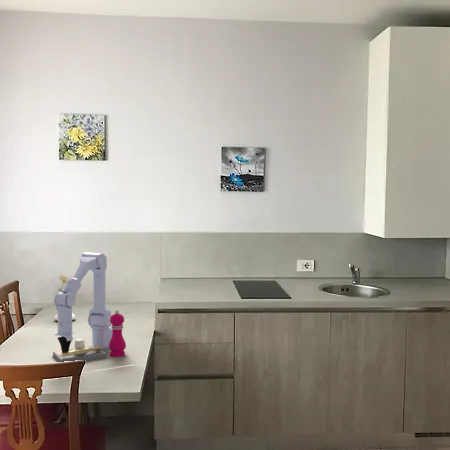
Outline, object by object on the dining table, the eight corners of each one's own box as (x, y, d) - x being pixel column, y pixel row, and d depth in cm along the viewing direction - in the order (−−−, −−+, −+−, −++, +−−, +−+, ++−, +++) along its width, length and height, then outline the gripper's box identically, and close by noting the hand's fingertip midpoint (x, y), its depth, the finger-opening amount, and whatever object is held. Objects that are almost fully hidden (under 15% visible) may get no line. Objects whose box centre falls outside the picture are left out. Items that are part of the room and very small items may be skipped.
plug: (84, 354, 246) (84, 337, 245) (89, 358, 240) (89, 341, 240) (70, 356, 243) (70, 339, 242) (74, 360, 237) (74, 342, 237)
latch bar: (99, 348, 244) (99, 345, 244) (101, 349, 242) (101, 346, 242) (61, 355, 233) (60, 352, 233) (63, 357, 231) (63, 353, 231)
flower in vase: (78, 321, 310) (78, 275, 308) (58, 323, 303) (57, 277, 302) (70, 316, 320) (70, 272, 319) (50, 319, 314) (49, 274, 312)
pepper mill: (110, 359, 240) (110, 312, 239) (107, 354, 247) (106, 309, 246) (127, 357, 243) (127, 311, 242) (123, 352, 250) (123, 307, 248)
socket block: (96, 351, 252) (96, 343, 252) (106, 359, 240) (106, 351, 240) (52, 357, 243) (52, 349, 242) (61, 366, 231) (61, 358, 230)
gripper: (50, 319, 238) (51, 351, 238) (59, 326, 225) (59, 360, 226) (67, 317, 241) (68, 348, 242) (77, 324, 229) (77, 357, 229)
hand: (65, 354), depth 234 cm, fingers closed, pressing on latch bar
